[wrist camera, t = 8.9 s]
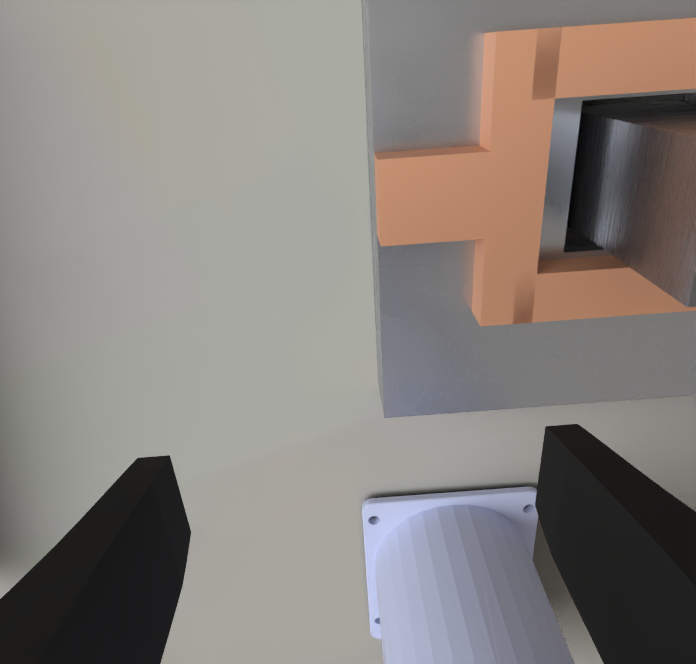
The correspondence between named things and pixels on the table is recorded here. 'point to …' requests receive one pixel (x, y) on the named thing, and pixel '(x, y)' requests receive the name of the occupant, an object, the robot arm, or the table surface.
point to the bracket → (532, 170)
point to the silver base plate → (458, 256)
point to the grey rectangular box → (640, 189)
